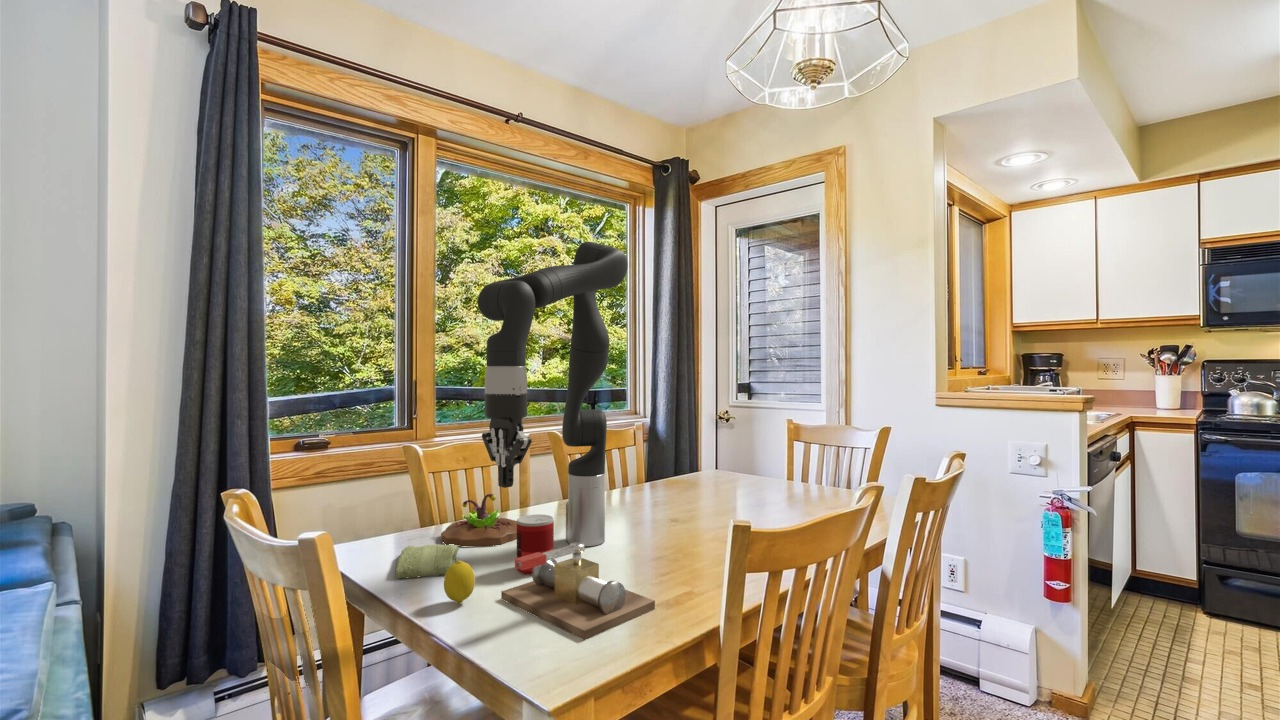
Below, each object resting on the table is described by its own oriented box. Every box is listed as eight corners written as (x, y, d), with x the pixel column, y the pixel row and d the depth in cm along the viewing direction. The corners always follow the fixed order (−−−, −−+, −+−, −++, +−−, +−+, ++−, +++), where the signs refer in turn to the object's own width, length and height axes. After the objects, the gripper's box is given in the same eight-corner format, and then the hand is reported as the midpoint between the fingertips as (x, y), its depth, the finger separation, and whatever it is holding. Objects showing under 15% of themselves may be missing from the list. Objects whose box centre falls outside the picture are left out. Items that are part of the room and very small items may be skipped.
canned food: (560, 568, 129) (560, 518, 129) (530, 578, 123) (531, 525, 123) (539, 560, 134) (539, 512, 135) (509, 569, 129) (509, 518, 129)
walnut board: (501, 599, 112) (501, 591, 112) (570, 576, 125) (570, 569, 125) (584, 640, 96) (584, 630, 96) (654, 608, 108) (654, 600, 108)
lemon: (457, 612, 106) (458, 567, 106) (437, 605, 109) (437, 562, 109) (481, 601, 111) (481, 559, 111) (460, 595, 114) (461, 553, 114)
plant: (510, 549, 144) (511, 503, 144) (431, 548, 144) (431, 502, 145) (529, 526, 164) (529, 486, 164) (459, 526, 164) (459, 485, 165)
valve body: (531, 588, 115) (532, 544, 115) (554, 581, 119) (554, 538, 119) (602, 620, 101) (602, 569, 101) (625, 610, 105) (625, 561, 105)
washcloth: (459, 552, 142) (459, 538, 142) (456, 577, 125) (456, 562, 125) (401, 556, 139) (401, 542, 139) (390, 583, 122) (390, 567, 122)
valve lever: (577, 548, 112) (577, 540, 112) (587, 551, 110) (587, 543, 110) (513, 567, 102) (513, 558, 102) (523, 570, 100) (523, 562, 100)
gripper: (468, 390, 109) (468, 484, 109) (509, 393, 100) (509, 495, 100) (503, 389, 115) (502, 479, 114) (545, 391, 105) (544, 488, 105)
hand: (505, 486), depth 107 cm, fingers closed
